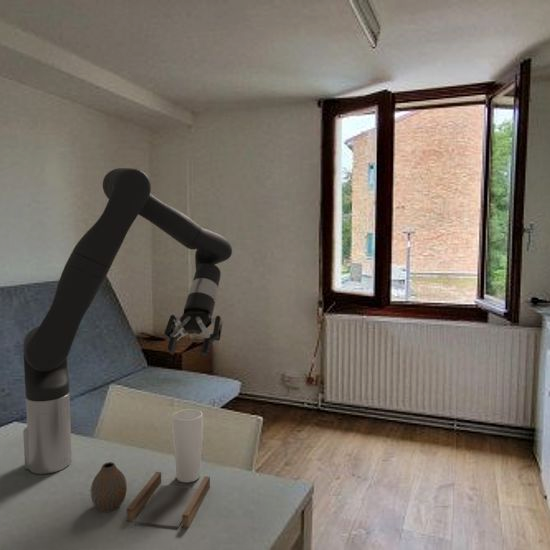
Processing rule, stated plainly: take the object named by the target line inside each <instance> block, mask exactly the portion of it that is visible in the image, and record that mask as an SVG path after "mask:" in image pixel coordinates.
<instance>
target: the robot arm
mask: <svg viewBox="0 0 550 550" xmlns="http://www.w3.org/2000/svg"><path fill="white" fill-rule="evenodd" d="M151 184H152V183H151V180H150V178H149V176H148V174H146V173H145V172H144V171H143V170H140V169H138V168H127V167H121V168H115V169H114V168H113V169H112V170H109V172H107V173H106V174H105V176H104V177H103V180H102V191H103V194H104V195H105V197H106V198H107V199H108V201H107V203H106V206H105V208H104V210H103V212H102V214H101V215H100V217H99V218H98V219H97V220H96V222H95V223H94V224H93V225H92V226H91V227H90V228H89V229H88V230H87V231H86V232H85V233H84V234H83V236H81V238H80V239H79V241H78V242H77V243H76V244H75V246H74V248H73V249H72V251H71V253H70V255H69V257H68V259H67V261H66V262H65V264H64V267H63V269H62V272H61V274H60V276H59V277H60V278H59V279H58V280H59V281H58V283H57V287H56V291H55V294H54V298H53V300H52V303H51V305H50V308H49V310H48V311H47V313H46V315H45V317H44V318H43V320H42V321H41V323H40V324H39V326H36V327H34V328H33V329H31V330H30V331H29V332H28V333H27V334H26V336H25V337H24V341H23V346H22V347H23V348H22V351H23V367H24V368H23V370H24V386H25V387H24V389H25V390H24V391H25V406H26V407H25V408H26V409H25V410H26V427H24V429H23V432H22V434H23V435H22V436H23V454H24V455H23V456H24V469H25V470H29V472H31V473H33V474H36V475H37V474H38V475H45V474H52V473H56V472H58V471H62V470H63V469H65V468H67V467H68V466H69V465H70V464H71V463H72V461H73V460H72V431H71V430H72V429H71V428H72V427H71V402H70V401H71V399H70V398H71V397H70V396H71V395H70V379H69V372H68V371H69V370H68V356H69V354H70V351H71V348H72V346H73V342H74V339H75V338H76V335H77V332H78V330H79V327H80V325H81V323H82V320H83V318H84V316H85V314H86V312H87V311H88V309H89V308H90V307H91V304H92V303H93V301H94V300H95V297H96V296H97V294H98V292H99V290H100V289H101V287H102V285H103V283H104V282H105V280H106V278H107V275H108V273H109V271H110V269H111V268H112V265H113V263H114V261H115V258H116V257H117V254H118V252H119V251H120V249H121V247H122V245H123V243H124V241H125V238H126V236H127V234H128V232H129V230H130V228H131V227H132V225H133V223H135V220H136V219H137V218H138V216H140V217H142V218H143V219H145V220H147V221H148V222H149V223H152V225H154V226H156V227H157V228H158V229H160V230H162V231H163V232H164V233H165V234H167V235H169V236H170V237H171V238H173V239H174V240H175V241H176V242H178V243H180V244H181V245H182V246H183V247H185V248H186V249H188V250H195V255H194V258H195V260H194V262H195V263H194V264H195V273H194V275H193V278H192V279H193V280H192V283H191V285H190V288H189V290H188V294H187V297H186V301H185V305H184V308H183V313H182V315H181V316H175V315H174V314H171V315H170V316H169V319H168V322H167V325H166V327H165V330H164V332H163V334H164V335H165V337H166V338H167V339H168V340H169V341H168V346H167V351H168V352H169V354H170V355H175V354H176V349H177V346H178V343H179V342H178V341H179V340H180V339H181V338H183V337H185V336H186V335H187V334H188V335H192V334H196V335H200V334H202V333H203V335H204V336H205V338H204V339H203V342H202V347H201V352H200V353H201V354H202V356H203V357H204V356H205V357H206V356H207V354H209V353H210V351H211V346H212V343H213V342H215V341H216V342H218V341H220V340H221V335H222V328H223V324H224V323H223V320H222V317H221V316H220V315H216V316H215V317H213V314H214V313H213V312H214V309H215V305H216V302H217V296H218V289H219V285H220V281H221V275H222V273H221V269H220V268H219V267H218V266H217V264H220V263H223V262H225V261H227V260H229V259H230V258H231V256H232V254H233V249H232V245H231V243H230V242H229V241H228V240H227V238H225V237H224V236H223V235H222V234H221V235H220V234H219V233H216V232H214V231H211V230H209V229H206V228H204V227H202V226H201V225H199V224H198V223H197V222H195V221H194V220H193V219H192V218H190V217H189V216H188V215H186V214H185V213H182V212H181V211H179V210H178V209H176V208H174V207H172V206H170V205H168V204H166V203H165V202H163V201H162V200H160V199H159V198H157V197H156V196H154V195H153V194H152V193H151V192H152V191H151V189H152V185H151ZM179 323H180V324H179ZM211 324H213V325H212V326H213V331H212V332H213V333H210V332H209V330H208V328H210V326H211Z"/></svg>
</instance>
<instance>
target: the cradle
mask: <svg viewBox="0 0 550 550" xmlns="http://www.w3.org/2000/svg"><path fill="white" fill-rule="evenodd" d="M210 488H211V476H208V475H207V476H203V478H202V480H201V481H200V483H199V485H198V487H196V488H195V487H188V486H187V487H186V486H175V485H163V484H162V471H155V472H154V474H153V475H152V476H151V477H150V478H149V480H148V481H147V483H146V484H144V486H143V487H142V489H141V490H140V491H139V493H138V494H137V495H136V496H135V498H134V499H133V500H132V502H131V503H130V504H129V505H128V507H126V521H127V522H132V523H133V522H134V524H136V525H144V526H153V527H161V528H162V527H163V528H171V529H180V527H182V528H185V529H186V528H188V529H189V528H190V526H191V524H192V522H193V520H194V518H195V517H196V514H197V513H198V512H199V509H200V507H201V505H202V504H203V501H204V500H205V498H206V496H207V494H208V491H209V490H210ZM181 525H182V526H181Z"/></svg>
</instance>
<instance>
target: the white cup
mask: <svg viewBox="0 0 550 550" xmlns="http://www.w3.org/2000/svg"><path fill="white" fill-rule="evenodd" d="M203 415H204V414H203V412H202V411H201V410H199V409H196V408H184V409H180V410H177V411H175V412H174V413H173V414H172V423H171V424H172V428H171V429H172V440H173V450H174V459H175V460H174V462H175V477H176V480H178V481H179V483H184V484H185V483H193V482H196V481H197V480H198V479H199V478H200V475H201V459H202V449H203V447H202V446H203V435H204V416H203Z"/></svg>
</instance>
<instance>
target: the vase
mask: <svg viewBox="0 0 550 550" xmlns="http://www.w3.org/2000/svg"><path fill="white" fill-rule="evenodd" d="M127 486H128V484H127V480H126V476H125V475H124V473H123V472H122V471H121V470H120V469H119V468H118V467H117V466H116V463H114V462H110V461H109V462H105V463H103V464H102V466H101V467H100V470H99V471H98V472H97V473H96V475H95V476H94V478H93V480H92V483H91V487H90V498H91V501H92V503H93V505H94V508H96V509H97V510H99V511H101V512H103V513H104V512H105V513H107V512H112V511H115V510H117V509H118V508H119V507H121V505H122V504H123V502H124V501H125V499H126V496H127V489H128V487H127Z"/></svg>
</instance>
